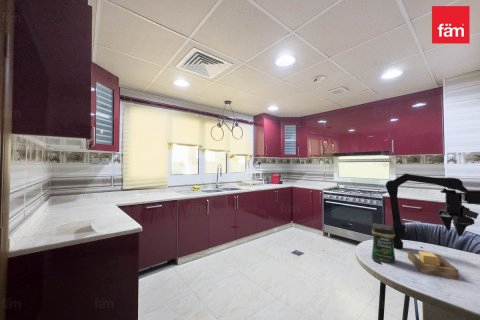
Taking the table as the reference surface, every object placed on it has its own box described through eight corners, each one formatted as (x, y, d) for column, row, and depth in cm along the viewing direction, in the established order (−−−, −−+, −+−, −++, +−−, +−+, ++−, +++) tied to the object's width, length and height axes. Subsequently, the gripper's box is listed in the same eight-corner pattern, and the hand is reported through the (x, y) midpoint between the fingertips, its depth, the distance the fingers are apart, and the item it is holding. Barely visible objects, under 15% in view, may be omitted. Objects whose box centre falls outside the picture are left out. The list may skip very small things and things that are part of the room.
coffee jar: (371, 262, 100) (371, 224, 101) (372, 256, 107) (371, 221, 107) (396, 267, 95) (395, 228, 95) (395, 261, 101) (394, 224, 102)
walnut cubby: (421, 275, 88) (421, 264, 88) (407, 259, 102) (407, 250, 102) (458, 281, 83) (458, 270, 83) (438, 264, 98) (438, 254, 98)
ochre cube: (423, 266, 94) (423, 255, 94) (419, 261, 98) (418, 251, 98) (437, 268, 92) (437, 257, 92) (432, 263, 96) (431, 252, 96)
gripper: (490, 207, 90) (490, 242, 90) (462, 200, 108) (462, 229, 107) (457, 205, 94) (457, 238, 94) (435, 199, 112) (436, 227, 111)
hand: (453, 233), depth 102 cm, fingers open, 9 cm apart
